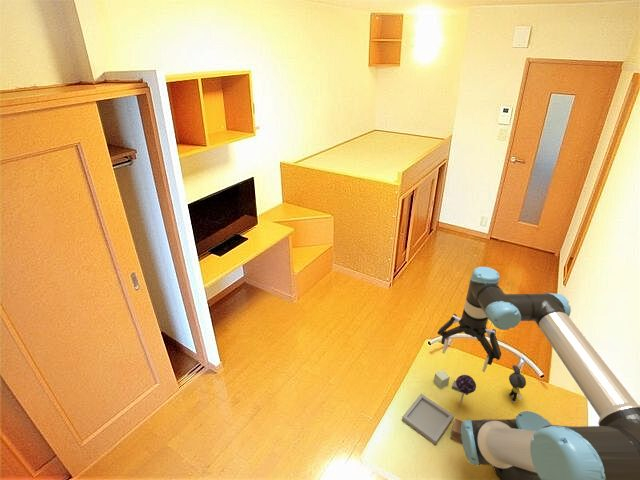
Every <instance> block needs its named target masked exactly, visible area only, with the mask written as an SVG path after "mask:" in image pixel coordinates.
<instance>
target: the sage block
mask: <svg viewBox="0 0 640 480" xmlns="http://www.w3.org/2000/svg"><path fill="white" fill-rule="evenodd" d="M450 378H451V376H450V375H449V374H448V373H447V372H446V371H445V370H444V369H441V370H440V371H436V372H434V377H433V383H434V384H435V385H436V386H437V387H438V388H439V390H442V389H444V388H445V387H446V388H447V387H448V386H449V382H450Z"/></svg>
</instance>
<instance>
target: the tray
mask: <svg viewBox="0 0 640 480" xmlns="http://www.w3.org/2000/svg"><path fill="white" fill-rule="evenodd" d="M454 417H455V415H454V414H453V413H451V412H450V411H448V410H446V409H445V408H444V407H442V406H440V404H438V403H436V402H435V401H433V400H432V399H430V398H428V397H427V396H426V395H424V394H423V393H420V394H419V395H418V397H417V398H416V399H415V400H414V401H413V402H412V404H411V405H410V407H409V408H408V409H407V410H406V411H405V413H403V415H402V416H401V421H402V422H403V423H405V424H406V425H408V426H409V427H410V428H412V430H414V431H416V432H417V433H418V434H419V435H421V436H422V437H423V438H425V439H426V440H428V442H430V443H432V444H433V445H434V446H436V445H437V443H438V442H439V440H440V439H441V438H442V436H443V435H444V433H445V431H447V429H448V427H449V426H450V424H451V423H452V422H453V420H454V419H455V418H454Z"/></svg>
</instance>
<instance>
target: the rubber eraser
mask: <svg viewBox="0 0 640 480" xmlns="http://www.w3.org/2000/svg"><path fill="white" fill-rule="evenodd" d="M451 389H452V390H453V391H456V392H459V393H461V394H462V393H463V392H461V391H460V390H459V389H458V387H457V385H456V380H455V379H453V383H452V386H451ZM464 395H465V396H466V395H467V396H468V395H469V394H465V393H464Z"/></svg>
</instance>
